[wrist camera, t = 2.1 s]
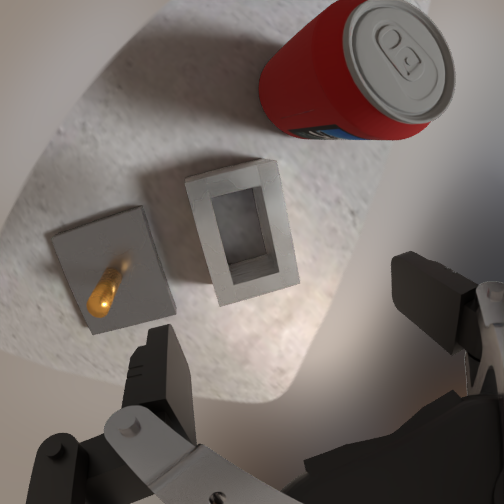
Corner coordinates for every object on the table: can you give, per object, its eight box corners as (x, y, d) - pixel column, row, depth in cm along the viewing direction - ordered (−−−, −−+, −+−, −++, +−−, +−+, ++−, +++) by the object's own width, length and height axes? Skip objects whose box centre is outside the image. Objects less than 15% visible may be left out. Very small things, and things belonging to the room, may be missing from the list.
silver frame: (185, 177, 21) (184, 183, 17) (263, 158, 21) (276, 160, 18) (215, 284, 24) (219, 306, 20) (285, 264, 24) (300, 283, 21)
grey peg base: (56, 234, 20) (24, 259, 15) (142, 205, 21) (128, 224, 16) (95, 328, 23) (78, 370, 18) (176, 307, 24) (175, 349, 19)
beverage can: (303, 159, 22) (411, 178, 11) (234, 91, 19) (288, 33, 8) (361, 100, 21) (484, 84, 10) (300, 33, 19) (394, -39, 8)
